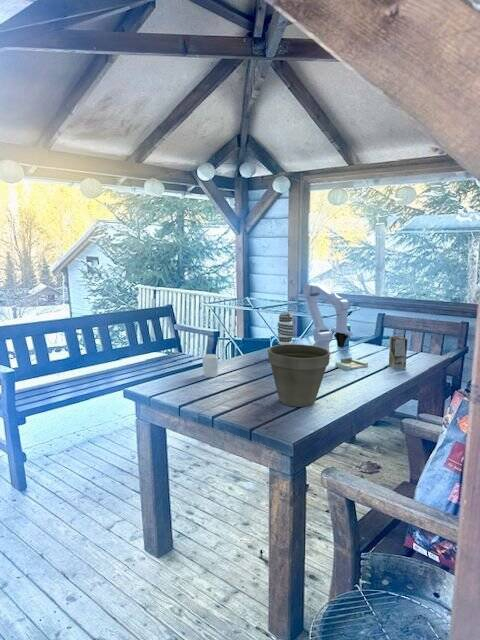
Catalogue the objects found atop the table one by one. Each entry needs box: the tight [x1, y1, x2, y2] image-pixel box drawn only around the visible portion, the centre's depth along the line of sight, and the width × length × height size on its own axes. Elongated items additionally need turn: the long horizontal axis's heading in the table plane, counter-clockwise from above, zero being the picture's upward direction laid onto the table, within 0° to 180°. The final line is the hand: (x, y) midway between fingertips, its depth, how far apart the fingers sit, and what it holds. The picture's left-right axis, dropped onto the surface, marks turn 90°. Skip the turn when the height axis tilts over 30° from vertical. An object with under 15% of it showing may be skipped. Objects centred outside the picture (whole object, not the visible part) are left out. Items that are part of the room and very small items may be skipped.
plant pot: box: [267, 343, 331, 408], centre depth 187 cm, size 25×25×22 cm
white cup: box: [201, 353, 219, 378], centre depth 226 cm, size 8×8×10 cm
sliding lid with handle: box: [340, 357, 366, 370], centre depth 241 cm, size 9×10×4 cm
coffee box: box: [388, 335, 408, 370], centre depth 240 cm, size 9×6×16 cm
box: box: [335, 358, 369, 371], centre depth 241 cm, size 9×15×2 cm, turn 121°
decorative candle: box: [277, 312, 294, 345], centre depth 266 cm, size 9×9×25 cm
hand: (340, 346), depth 247 cm, fingers closed
